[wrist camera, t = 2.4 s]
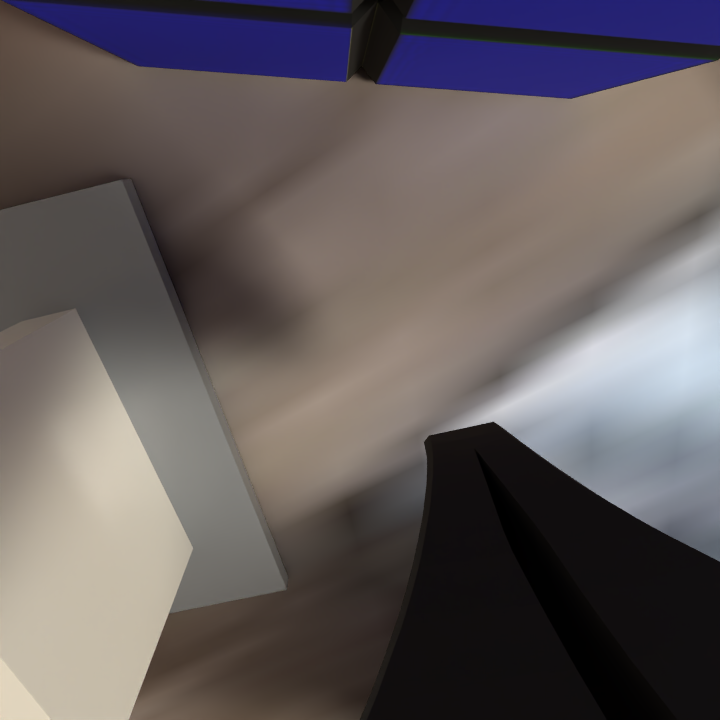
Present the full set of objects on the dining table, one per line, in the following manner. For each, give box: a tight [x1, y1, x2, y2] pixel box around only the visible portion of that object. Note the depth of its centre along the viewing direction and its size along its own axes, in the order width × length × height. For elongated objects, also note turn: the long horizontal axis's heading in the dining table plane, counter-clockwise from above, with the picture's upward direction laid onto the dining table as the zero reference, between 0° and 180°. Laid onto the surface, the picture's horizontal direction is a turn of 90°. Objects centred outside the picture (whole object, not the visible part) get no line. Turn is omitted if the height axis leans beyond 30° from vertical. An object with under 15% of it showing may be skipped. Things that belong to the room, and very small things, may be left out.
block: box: [0, 308, 193, 720], centre depth 10 cm, size 8×2×6 cm, turn 13°
